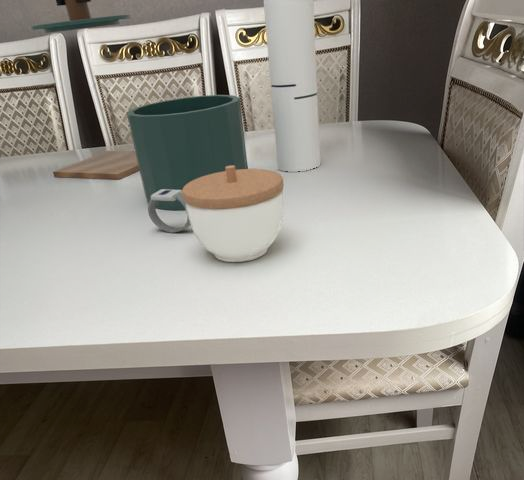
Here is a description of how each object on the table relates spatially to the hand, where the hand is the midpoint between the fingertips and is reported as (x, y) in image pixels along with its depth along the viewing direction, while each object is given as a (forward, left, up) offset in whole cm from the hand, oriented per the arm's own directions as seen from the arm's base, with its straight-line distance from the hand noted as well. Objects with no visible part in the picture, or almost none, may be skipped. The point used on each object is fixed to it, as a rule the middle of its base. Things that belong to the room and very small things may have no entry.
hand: (74, 3), depth 87 cm
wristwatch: (+34, -28, -27) cm, 51 cm away
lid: (0, 0, -3) cm, 3 cm away
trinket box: (+46, -32, -27) cm, 62 cm away
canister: (+28, -13, -27) cm, 41 cm away
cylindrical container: (+38, +3, -27) cm, 46 cm away
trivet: (0, 0, -27) cm, 27 cm away
